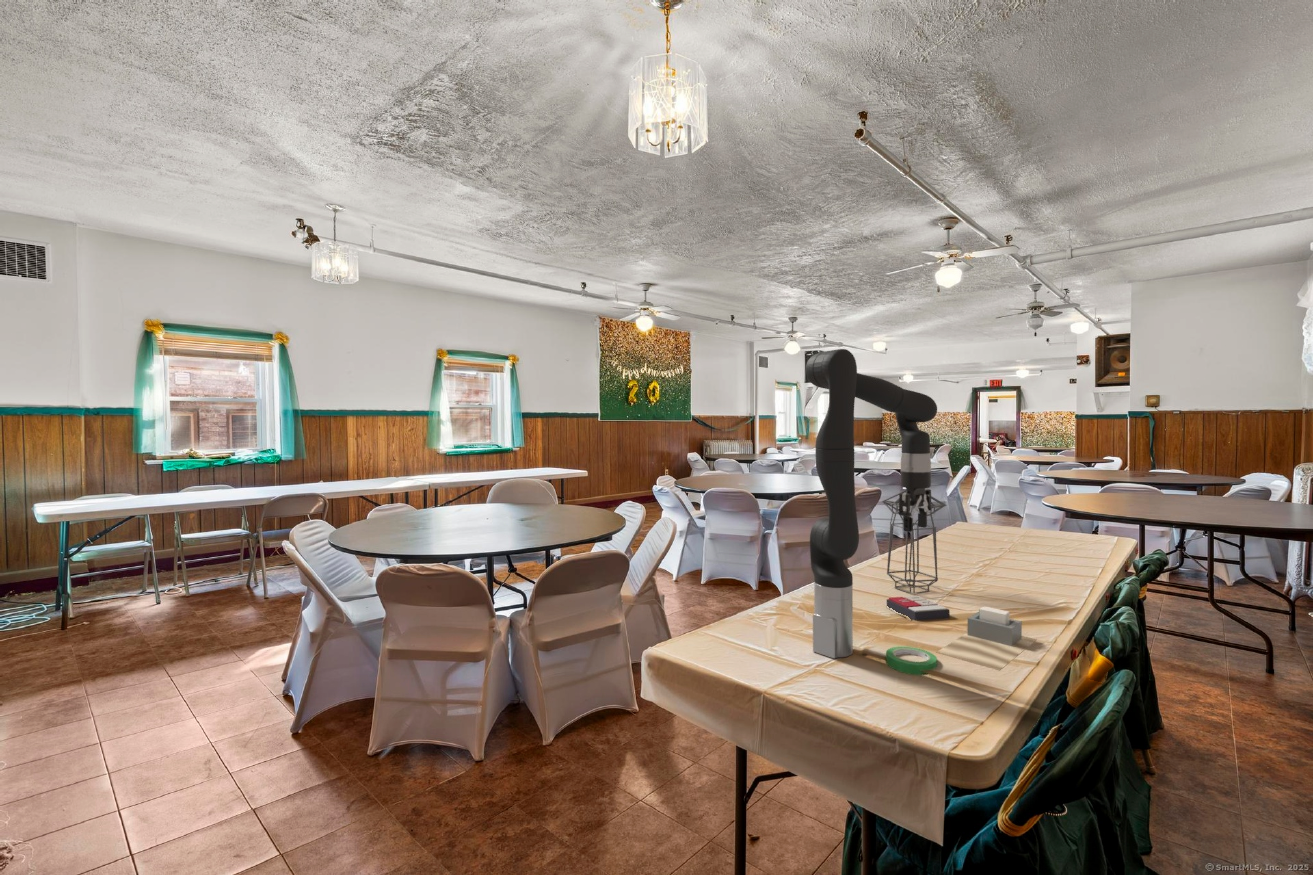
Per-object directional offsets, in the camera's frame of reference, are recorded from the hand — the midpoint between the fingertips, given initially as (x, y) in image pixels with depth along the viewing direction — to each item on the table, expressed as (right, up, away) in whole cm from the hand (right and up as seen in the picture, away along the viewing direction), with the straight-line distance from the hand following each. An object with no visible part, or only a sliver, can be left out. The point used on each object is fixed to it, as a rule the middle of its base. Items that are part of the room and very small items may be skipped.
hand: (915, 529), depth 158 cm
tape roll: (-10, -29, -20) cm, 37 cm away
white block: (+18, -26, -7) cm, 32 cm away
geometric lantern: (+17, -27, +40) cm, 51 cm away
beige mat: (+13, -28, -12) cm, 33 cm away
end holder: (+18, -27, -7) cm, 33 cm away
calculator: (+7, -28, +15) cm, 32 cm away
